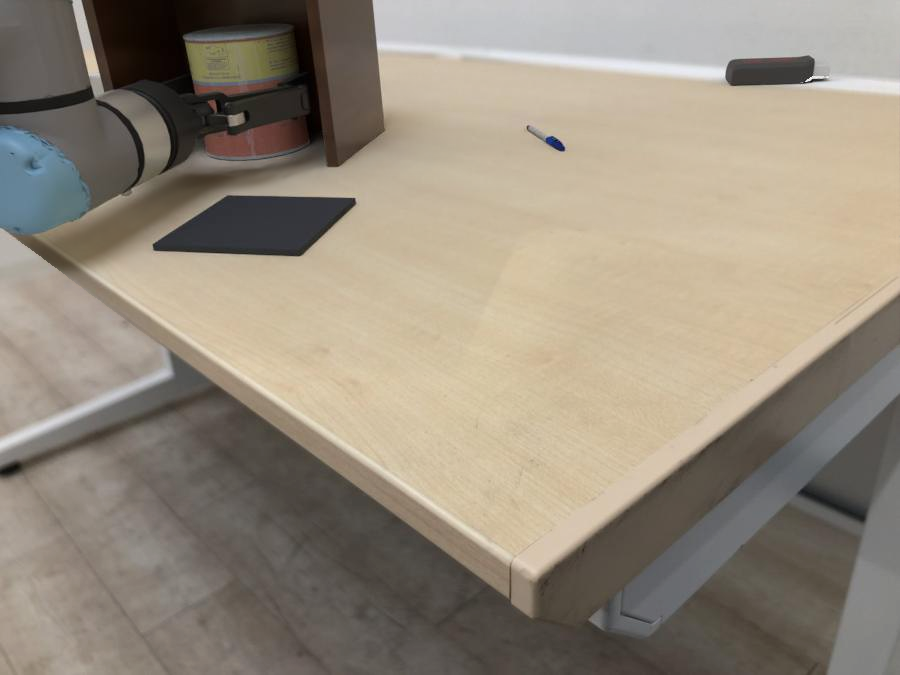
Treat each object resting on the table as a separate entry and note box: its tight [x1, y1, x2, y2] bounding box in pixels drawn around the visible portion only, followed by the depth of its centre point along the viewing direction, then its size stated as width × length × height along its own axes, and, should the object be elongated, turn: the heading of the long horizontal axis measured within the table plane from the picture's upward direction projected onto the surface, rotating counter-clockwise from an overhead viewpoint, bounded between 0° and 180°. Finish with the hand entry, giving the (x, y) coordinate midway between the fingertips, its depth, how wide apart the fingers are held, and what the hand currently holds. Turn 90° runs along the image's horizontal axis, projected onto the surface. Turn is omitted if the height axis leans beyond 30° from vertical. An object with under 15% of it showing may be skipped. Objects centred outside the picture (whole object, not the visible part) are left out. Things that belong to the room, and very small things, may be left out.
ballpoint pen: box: [526, 124, 566, 152], centre depth 84 cm, size 10×1×1 cm, turn 16°
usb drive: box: [724, 55, 832, 86], centre depth 103 cm, size 5×12×3 cm, turn 81°
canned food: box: [183, 24, 311, 161], centre depth 85 cm, size 11×11×12 cm
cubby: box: [80, 0, 386, 167], centre depth 83 cm, size 24×15×22 cm, turn 76°
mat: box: [151, 194, 357, 257], centre depth 64 cm, size 12×12×1 cm
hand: (249, 85), depth 85 cm, fingers open, 13 cm apart
